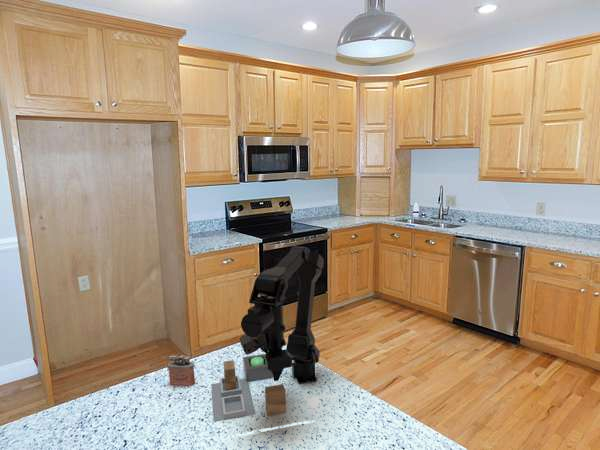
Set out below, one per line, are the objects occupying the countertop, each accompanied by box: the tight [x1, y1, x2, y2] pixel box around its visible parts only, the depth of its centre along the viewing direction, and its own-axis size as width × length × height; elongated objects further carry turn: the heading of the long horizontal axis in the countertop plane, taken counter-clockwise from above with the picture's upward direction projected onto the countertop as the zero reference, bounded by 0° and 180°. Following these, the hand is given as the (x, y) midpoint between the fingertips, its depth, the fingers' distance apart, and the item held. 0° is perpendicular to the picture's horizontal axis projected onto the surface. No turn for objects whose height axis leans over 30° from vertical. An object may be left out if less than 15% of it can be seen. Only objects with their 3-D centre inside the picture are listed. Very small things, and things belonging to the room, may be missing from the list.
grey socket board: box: [210, 375, 256, 423], centre depth 112 cm, size 11×18×2 cm, turn 14°
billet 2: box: [264, 383, 287, 417], centre depth 106 cm, size 3×5×8 cm, turn 104°
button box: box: [242, 353, 273, 383], centre depth 124 cm, size 8×8×5 cm
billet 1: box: [222, 360, 237, 391], centre depth 116 cm, size 3×5×8 cm, turn 15°
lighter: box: [167, 354, 196, 387], centre depth 119 cm, size 8×3×10 cm, turn 84°
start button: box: [251, 357, 264, 366], centre depth 124 cm, size 4×4×4 cm
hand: (274, 376), depth 104 cm, fingers open, 4 cm apart
